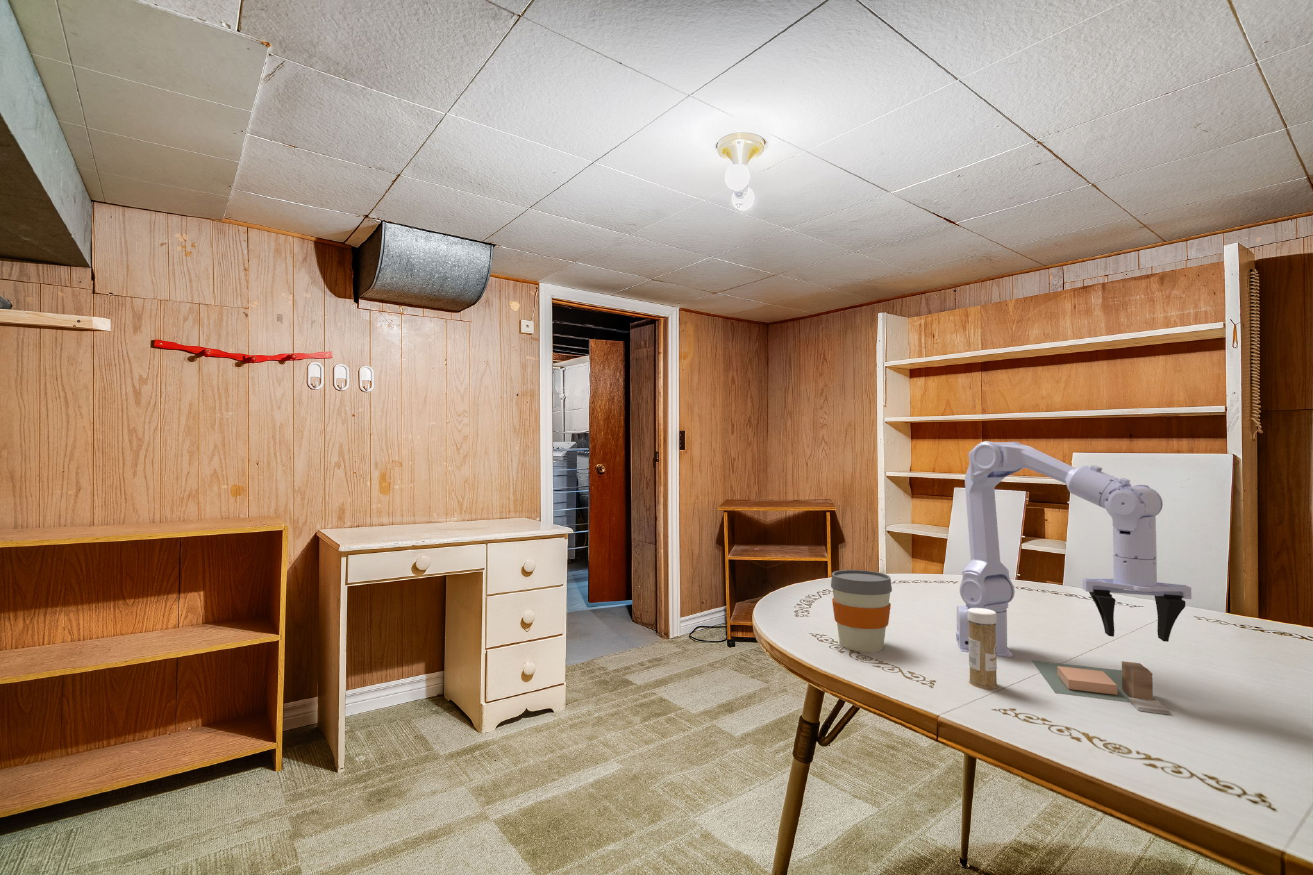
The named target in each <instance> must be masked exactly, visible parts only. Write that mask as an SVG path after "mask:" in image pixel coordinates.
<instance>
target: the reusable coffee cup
mask: <svg viewBox="0 0 1313 875" xmlns="http://www.w3.org/2000/svg"><path fill="white" fill-rule="evenodd" d="M830 588H832V594H833V596H832V597H833V598H831V601H832V608H833V618H834V621H835V622H836V624H837V626H836V627H837V633H838V634H837V635H838V641H839V645H840V646H841V647H843V648H845V649H847V650H851V651H854V652H862V653H876V652H880V651H882V650H883V649H884V644H885V637H886V628H887V627H888V626H889V621H890V614H891V608H892V607H891V605H892V604H891V602H890V598H891V597H890V596H891V592H892V591H893V586H892V580H891V576H890V575H888V574H887V573H886V574H885V573H882V572H877V571H872V570H862V569H842V570H835V571H833V572H832V573H831V581H830Z"/></svg>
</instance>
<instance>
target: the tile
mask: <svg viewBox="0 0 1313 875" xmlns="http://www.w3.org/2000/svg"><path fill="white" fill-rule="evenodd" d="M1057 675H1058V676H1059V677H1060V679H1061V680H1062V681H1063V682H1064V684H1065V685H1066V686H1067V687H1068V689H1073V690H1082V691H1090V692H1098V693H1106V694H1114V695H1117V685H1116V684H1115V683H1114V682H1113V681H1112V680H1111V679H1110V678H1109V677H1108V676H1107V675H1106V674H1105V673H1104V672H1103V671H1097V670H1088V669H1079V668H1070V667H1061V666H1057Z"/></svg>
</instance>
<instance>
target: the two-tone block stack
mask: <svg viewBox="0 0 1313 875" xmlns="http://www.w3.org/2000/svg"><path fill="white" fill-rule="evenodd" d="M1121 670H1122V691H1123V692H1124V693H1125V694H1126V695H1127V696H1128V700H1129V702H1128V703H1129V704H1131V705H1132V706H1133V707H1134V708H1135V709H1136V710H1137V711H1139V712H1143V713H1144V712H1146V713H1154V714H1160V715H1170V710H1169V709H1168V708H1167V707H1166V706H1164V704H1162V703H1161V702H1160V701H1159V700H1157V701H1155V700H1153V697H1154V695H1153V694H1154V690H1153V688H1154V687H1153V685H1154V682H1153V672H1152V671H1150V670H1149V669H1148V668H1147V667H1145V666H1144V665H1143V664H1141V663H1140V662H1131V661H1124V660H1123V661H1121Z"/></svg>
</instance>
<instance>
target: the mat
mask: <svg viewBox="0 0 1313 875" xmlns="http://www.w3.org/2000/svg"><path fill="white" fill-rule="evenodd" d="M1031 662H1032V663H1033V664H1034V666H1035V667H1036V669H1037V670H1038V672H1039V673H1040V674H1041V676H1042V677H1043V678H1044V680H1045V681H1046V683H1047V684H1048V686H1050V688H1051V690H1052V691H1053V692H1054V693H1055V694H1060V695H1065V696H1067V695H1068V696H1076V697H1084V698H1089V699H1090V698H1091V699H1100V700H1108V701H1116V702H1124V703H1130V702H1129V700H1128V696H1127V695H1126V694H1125V693H1124V692H1123V691H1122V669H1112V668H1105V667H1103V668H1102V667H1094V666H1085V665H1077V664H1067V663H1060V662H1059V663H1058V662H1049V661H1042V660H1039V661H1038V660H1031ZM1057 666H1061V667H1070V668H1079V669H1088V670H1097V671H1103V672H1104V673H1105V674H1106V675H1107V676H1108V677H1109V678H1110V679H1111V680H1112V681H1113V682H1114V683H1115V684H1116V685H1117V695H1114V694H1106V693H1098V692H1090V691H1082V690H1073V689H1068V687H1067V686H1066V685H1065V684H1064V682H1063V681H1062V680H1061V679H1060V677H1059V676H1058V675H1057ZM1153 700H1155V701H1158V700H1157V699H1156V698H1155V697H1154V696H1153Z"/></svg>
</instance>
